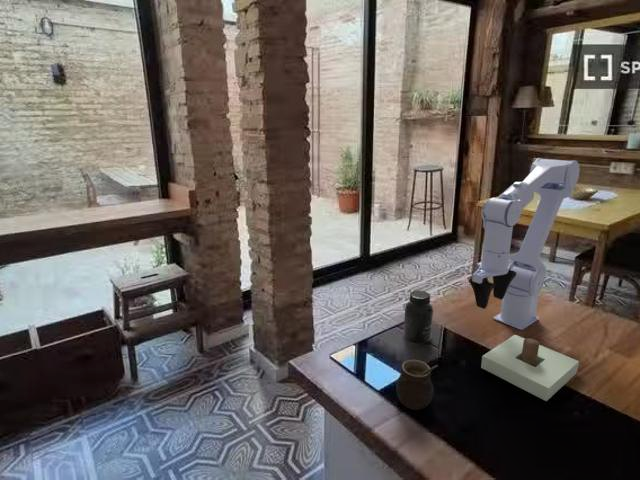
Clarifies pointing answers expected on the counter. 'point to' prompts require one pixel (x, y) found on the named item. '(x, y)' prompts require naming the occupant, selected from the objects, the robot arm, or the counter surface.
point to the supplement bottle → (418, 318)
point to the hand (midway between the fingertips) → (489, 302)
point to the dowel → (530, 351)
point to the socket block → (530, 368)
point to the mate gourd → (415, 384)
